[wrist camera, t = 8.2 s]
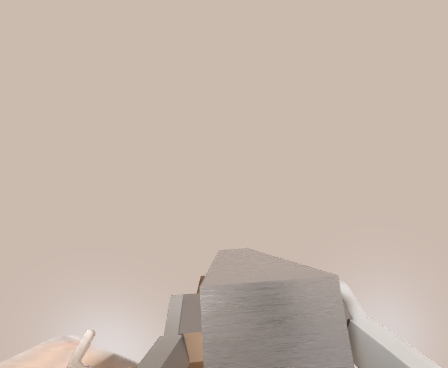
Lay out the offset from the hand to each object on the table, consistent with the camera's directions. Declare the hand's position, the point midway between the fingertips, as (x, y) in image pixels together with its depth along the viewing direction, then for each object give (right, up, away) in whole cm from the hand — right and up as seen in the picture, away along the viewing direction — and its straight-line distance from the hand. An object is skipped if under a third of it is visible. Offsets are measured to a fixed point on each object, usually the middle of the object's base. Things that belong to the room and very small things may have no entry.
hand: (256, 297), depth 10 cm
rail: (0, -5, +10) cm, 11 cm away
